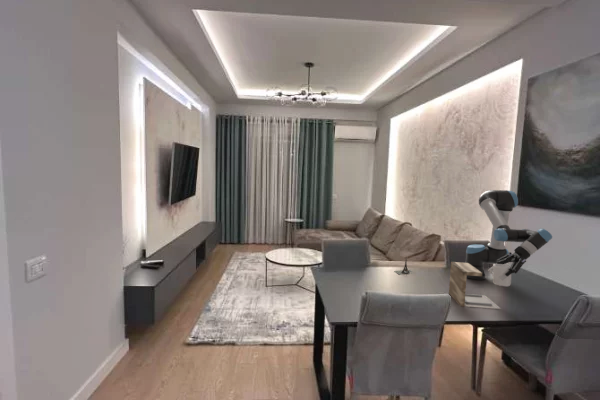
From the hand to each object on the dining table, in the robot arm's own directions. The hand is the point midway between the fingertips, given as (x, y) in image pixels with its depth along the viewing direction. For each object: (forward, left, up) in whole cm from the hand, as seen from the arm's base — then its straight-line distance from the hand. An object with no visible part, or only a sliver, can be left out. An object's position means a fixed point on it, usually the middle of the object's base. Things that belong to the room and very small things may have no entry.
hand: (494, 275), depth 185 cm
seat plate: (+9, -1, -16) cm, 19 cm away
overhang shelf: (+16, -1, -16) cm, 23 cm away
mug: (-3, 0, -5) cm, 5 cm away
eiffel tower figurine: (+40, -50, -17) cm, 66 cm away
